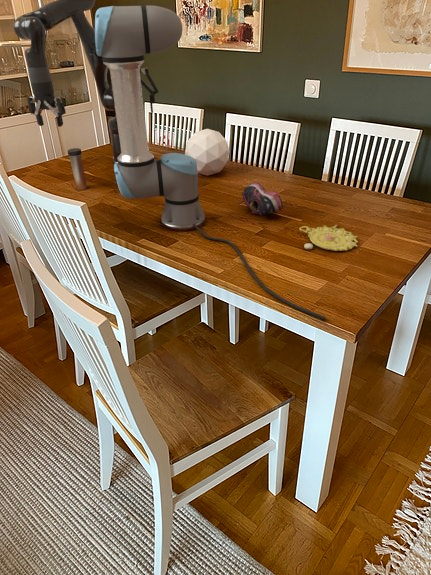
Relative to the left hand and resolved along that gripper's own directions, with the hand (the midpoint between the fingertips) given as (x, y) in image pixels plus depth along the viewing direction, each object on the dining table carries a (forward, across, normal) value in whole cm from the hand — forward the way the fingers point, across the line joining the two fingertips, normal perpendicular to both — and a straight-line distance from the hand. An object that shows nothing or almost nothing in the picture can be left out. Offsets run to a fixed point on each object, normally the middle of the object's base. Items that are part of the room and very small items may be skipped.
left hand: (50, 125), depth 171 cm
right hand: (-1, -26, -21) cm, 34 cm away
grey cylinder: (+26, -5, -5) cm, 27 cm away
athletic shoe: (+26, -83, +2) cm, 87 cm away
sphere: (+27, -52, -35) cm, 68 cm away
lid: (+11, -5, -5) cm, 13 cm away
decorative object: (+26, -110, +20) cm, 115 cm away
